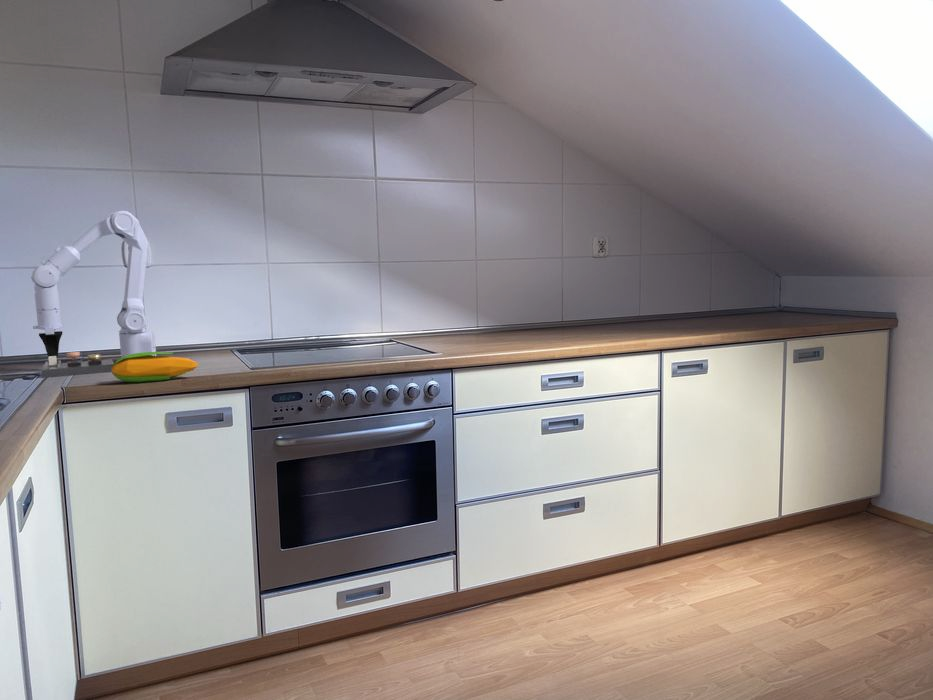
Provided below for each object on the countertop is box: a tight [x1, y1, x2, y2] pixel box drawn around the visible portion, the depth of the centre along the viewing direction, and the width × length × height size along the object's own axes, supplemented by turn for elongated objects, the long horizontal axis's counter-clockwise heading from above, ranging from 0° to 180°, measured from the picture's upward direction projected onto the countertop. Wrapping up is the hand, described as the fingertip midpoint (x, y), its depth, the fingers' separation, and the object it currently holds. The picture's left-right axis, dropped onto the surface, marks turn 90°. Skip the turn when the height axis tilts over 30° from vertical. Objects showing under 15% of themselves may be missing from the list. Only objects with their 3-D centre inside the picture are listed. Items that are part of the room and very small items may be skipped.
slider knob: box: [47, 356, 58, 365], centre depth 189 cm, size 2×2×2 cm
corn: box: [111, 351, 199, 384], centre depth 174 cm, size 7×8×20 cm
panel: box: [41, 358, 115, 379], centre depth 190 cm, size 17×11×3 cm, turn 119°
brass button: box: [87, 353, 102, 361], centre depth 192 cm, size 3×3×2 cm
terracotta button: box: [65, 351, 81, 361], centre depth 189 cm, size 3×3×2 cm
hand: (53, 357), depth 194 cm, fingers closed
